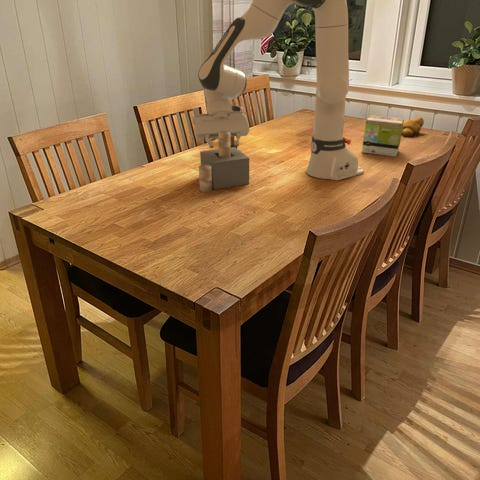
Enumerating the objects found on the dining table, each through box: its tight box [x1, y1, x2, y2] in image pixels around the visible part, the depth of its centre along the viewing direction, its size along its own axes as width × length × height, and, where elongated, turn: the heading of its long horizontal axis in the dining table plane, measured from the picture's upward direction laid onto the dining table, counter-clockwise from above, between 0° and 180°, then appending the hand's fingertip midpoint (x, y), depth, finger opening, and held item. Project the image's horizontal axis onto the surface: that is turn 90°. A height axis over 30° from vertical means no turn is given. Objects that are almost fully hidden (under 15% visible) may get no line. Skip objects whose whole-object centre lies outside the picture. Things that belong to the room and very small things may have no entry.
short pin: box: [198, 164, 213, 194], centre depth 166 cm, size 4×4×9 cm
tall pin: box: [217, 132, 231, 158], centre depth 173 cm, size 4×4×18 cm
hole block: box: [199, 147, 250, 190], centre depth 175 cm, size 14×14×10 cm
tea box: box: [361, 114, 405, 158], centre depth 204 cm, size 15×10×15 cm
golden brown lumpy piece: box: [401, 117, 425, 137], centre depth 231 cm, size 13×10×8 cm
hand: (224, 146), depth 171 cm, fingers open, 8 cm apart
